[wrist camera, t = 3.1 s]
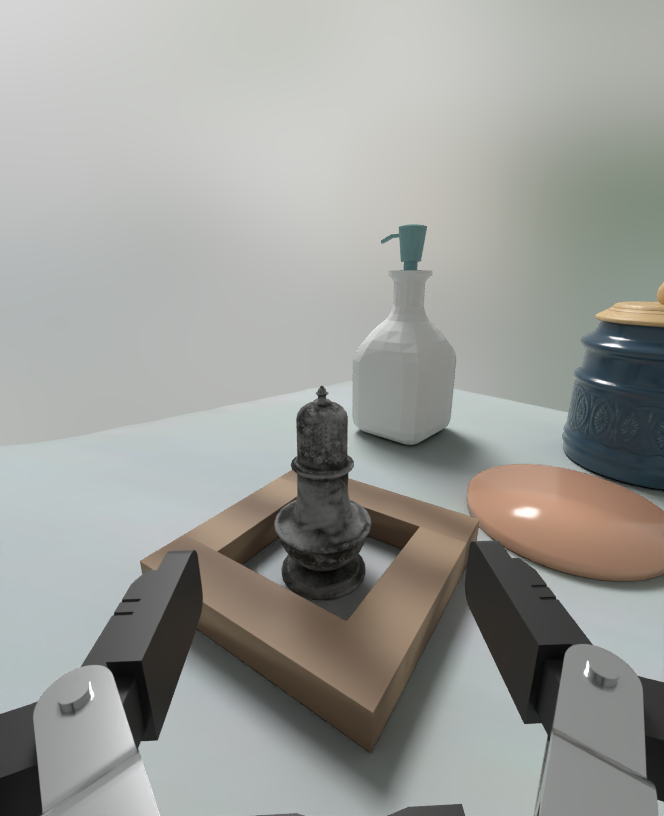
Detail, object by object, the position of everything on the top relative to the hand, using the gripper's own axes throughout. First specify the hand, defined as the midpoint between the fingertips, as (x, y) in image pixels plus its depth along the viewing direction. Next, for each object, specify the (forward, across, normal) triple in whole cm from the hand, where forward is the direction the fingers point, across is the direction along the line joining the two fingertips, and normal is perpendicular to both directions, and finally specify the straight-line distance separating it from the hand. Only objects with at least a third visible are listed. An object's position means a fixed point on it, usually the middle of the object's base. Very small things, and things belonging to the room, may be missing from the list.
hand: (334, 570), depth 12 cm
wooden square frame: (+11, 0, +9) cm, 15 cm away
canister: (+26, -31, +10) cm, 41 cm away
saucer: (+16, -18, +9) cm, 26 cm away
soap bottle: (+35, -10, +9) cm, 38 cm away
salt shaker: (+11, 0, +10) cm, 15 cm away
